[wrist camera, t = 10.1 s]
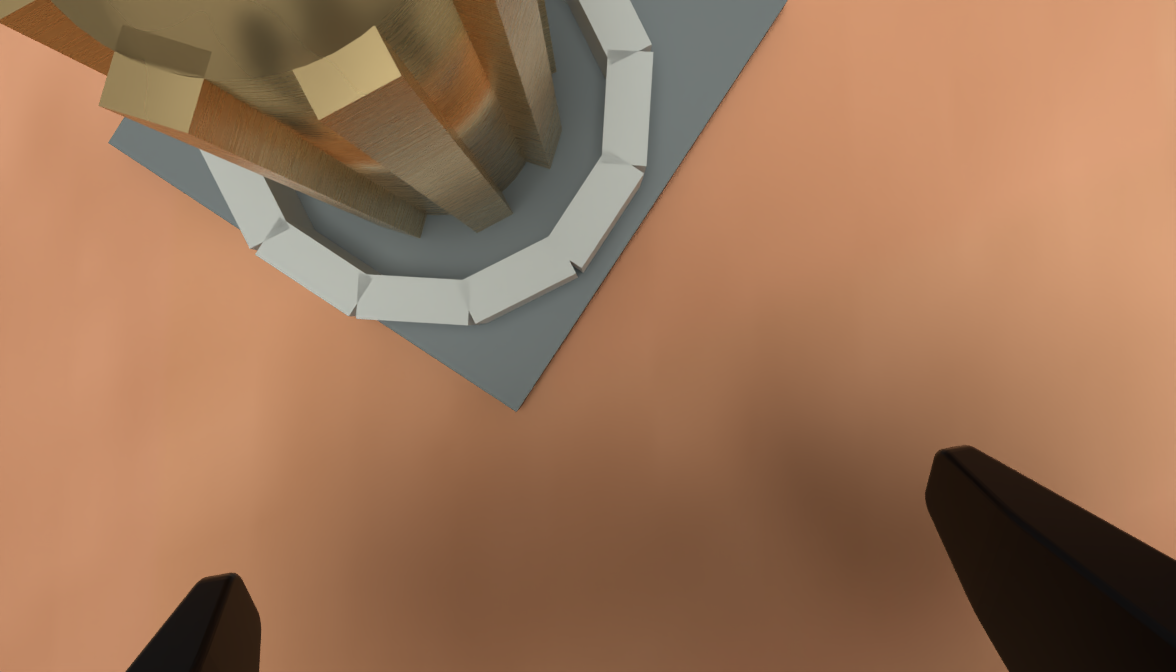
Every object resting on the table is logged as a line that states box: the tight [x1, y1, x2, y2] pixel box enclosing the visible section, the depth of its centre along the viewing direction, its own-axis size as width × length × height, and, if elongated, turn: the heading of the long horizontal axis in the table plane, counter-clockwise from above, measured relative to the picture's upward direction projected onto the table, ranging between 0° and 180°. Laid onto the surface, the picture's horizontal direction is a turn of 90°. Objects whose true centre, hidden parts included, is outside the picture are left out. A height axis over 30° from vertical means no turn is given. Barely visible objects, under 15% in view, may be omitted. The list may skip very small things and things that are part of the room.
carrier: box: [108, 0, 787, 412], centre depth 19 cm, size 12×12×3 cm
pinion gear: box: [0, 0, 562, 238], centre depth 14 cm, size 6×6×11 cm
